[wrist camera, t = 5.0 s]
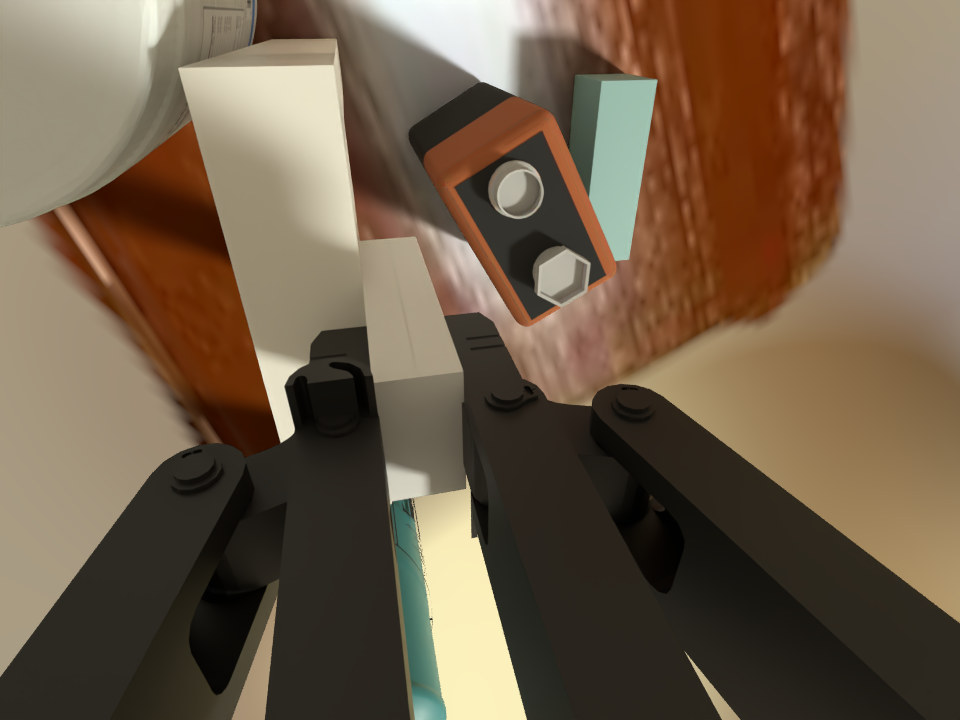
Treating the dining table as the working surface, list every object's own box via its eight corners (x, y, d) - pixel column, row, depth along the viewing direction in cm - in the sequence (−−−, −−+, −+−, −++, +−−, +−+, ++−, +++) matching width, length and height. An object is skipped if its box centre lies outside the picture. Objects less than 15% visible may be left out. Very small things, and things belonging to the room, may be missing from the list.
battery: (474, 250, 28) (531, 347, 20) (402, 130, 24) (435, 189, 16) (546, 205, 27) (635, 285, 19) (484, 76, 23) (562, 106, 15)
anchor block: (560, 242, 29) (581, 263, 26) (575, 74, 24) (601, 81, 22) (604, 239, 29) (628, 259, 27) (625, 73, 25) (657, 79, 22)
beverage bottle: (280, 465, 32) (220, 923, 16) (369, 410, 32) (402, 830, 15) (347, 518, 36) (354, 935, 20) (428, 470, 35) (506, 861, 19)
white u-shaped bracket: (318, 292, 27) (301, 519, 15) (272, 39, 21) (177, 67, 9) (368, 287, 27) (392, 503, 15) (336, 38, 21) (333, 65, 9)
